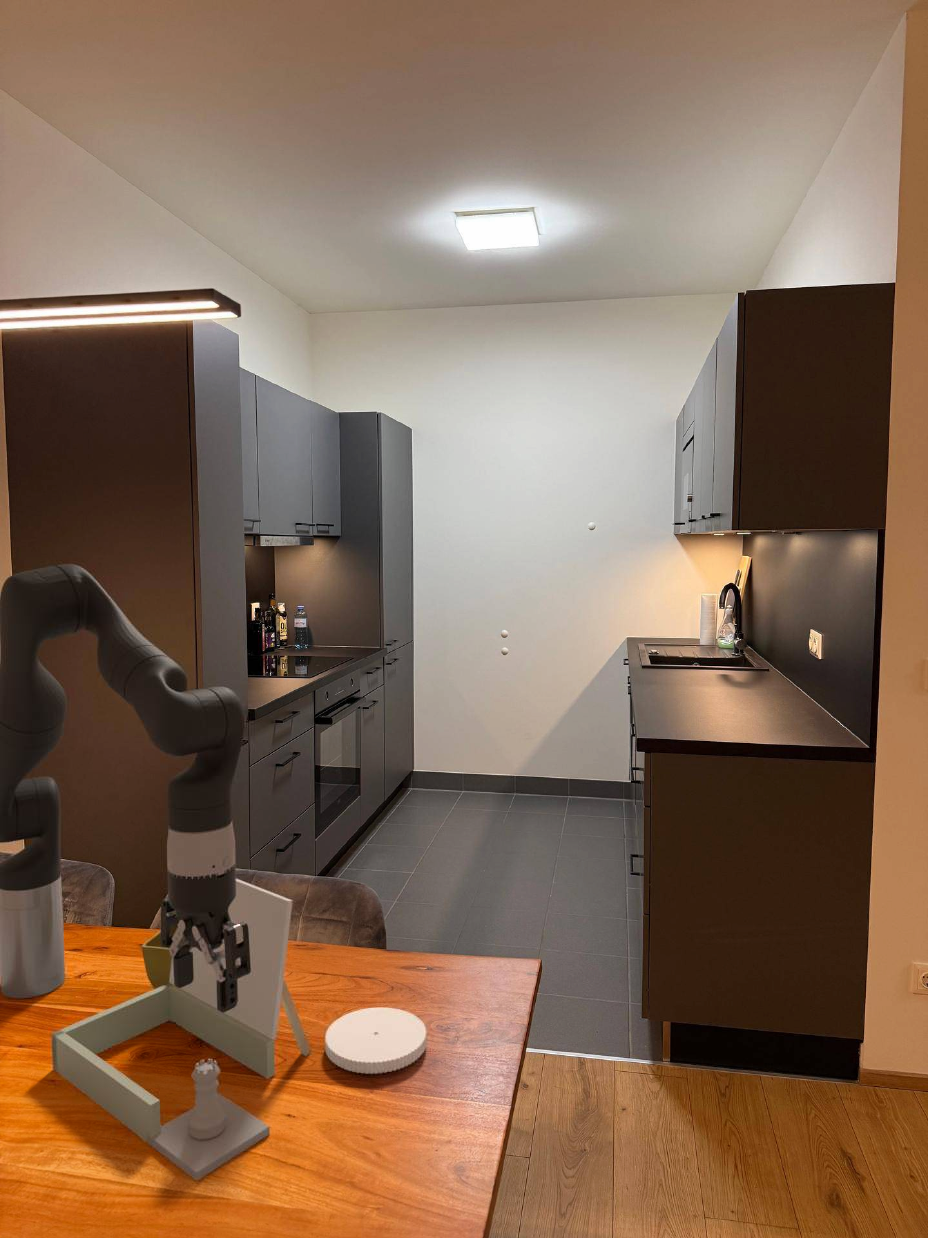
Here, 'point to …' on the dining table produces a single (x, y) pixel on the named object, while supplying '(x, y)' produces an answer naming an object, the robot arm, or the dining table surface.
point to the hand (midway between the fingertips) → (205, 996)
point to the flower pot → (157, 960)
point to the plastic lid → (375, 1040)
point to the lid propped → (251, 959)
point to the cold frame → (141, 1015)
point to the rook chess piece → (206, 1103)
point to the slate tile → (213, 1152)
